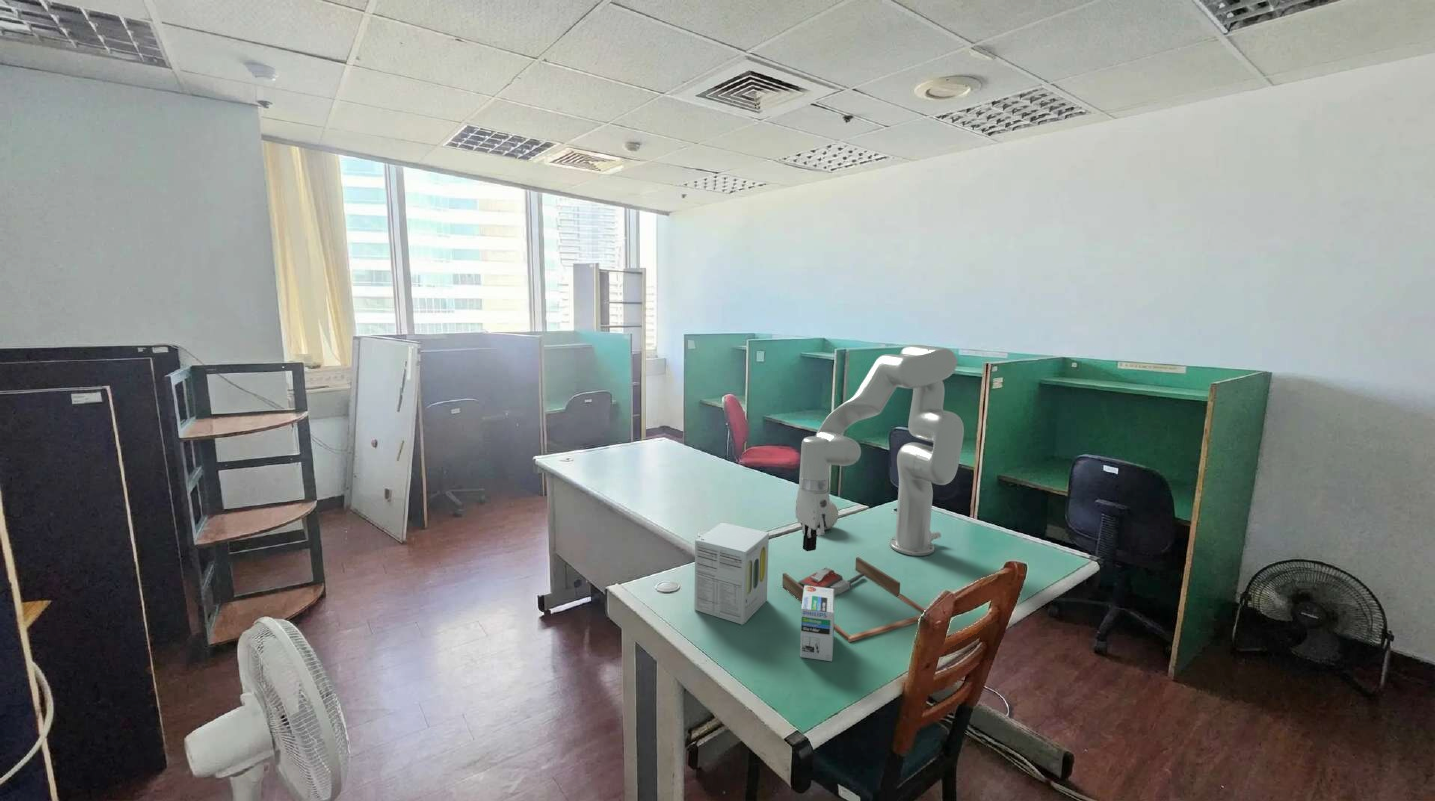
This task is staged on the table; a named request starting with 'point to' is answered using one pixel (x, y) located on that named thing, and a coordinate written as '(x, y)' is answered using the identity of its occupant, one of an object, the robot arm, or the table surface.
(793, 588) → the brown wooden frame
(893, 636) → the table surface
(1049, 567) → the table surface
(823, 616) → the light bulb box
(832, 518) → the eye model
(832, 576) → the walkie-talkie
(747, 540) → the supplement box
